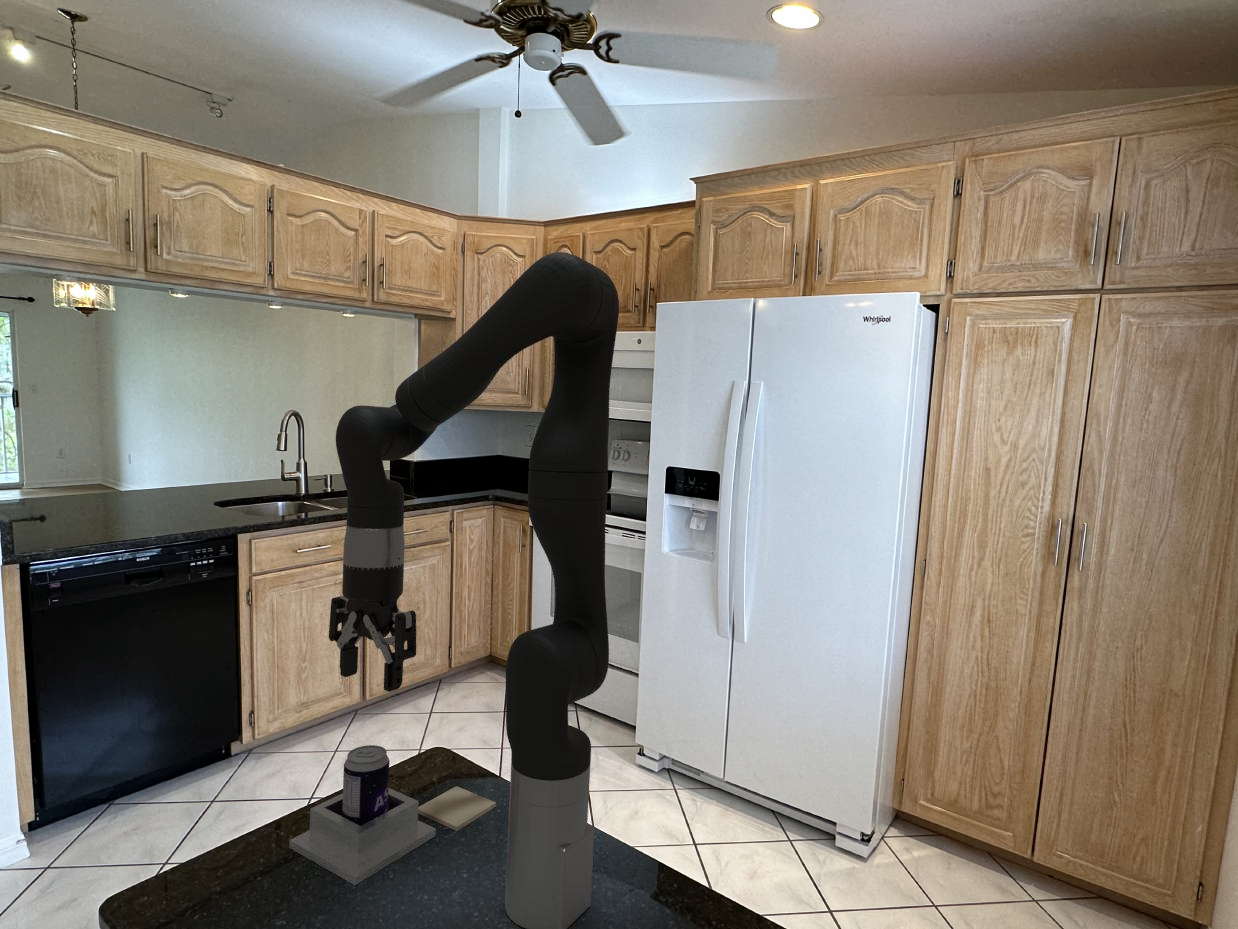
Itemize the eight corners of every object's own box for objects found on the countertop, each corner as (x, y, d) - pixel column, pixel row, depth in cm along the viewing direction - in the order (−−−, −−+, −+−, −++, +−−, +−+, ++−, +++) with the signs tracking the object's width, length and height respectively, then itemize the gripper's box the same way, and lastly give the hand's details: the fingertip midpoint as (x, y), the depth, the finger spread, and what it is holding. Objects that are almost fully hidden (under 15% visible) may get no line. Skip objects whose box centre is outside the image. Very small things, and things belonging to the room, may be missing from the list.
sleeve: (435, 836, 96) (436, 800, 96) (355, 885, 85) (356, 845, 85) (371, 805, 103) (372, 771, 103) (289, 847, 92) (290, 810, 92)
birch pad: (495, 806, 104) (496, 802, 104) (456, 831, 98) (457, 827, 98) (456, 790, 109) (456, 786, 109) (416, 812, 102) (416, 808, 102)
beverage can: (377, 855, 91) (380, 764, 91) (333, 853, 91) (336, 762, 91) (392, 831, 97) (395, 745, 96) (351, 828, 97) (354, 742, 96)
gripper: (434, 563, 92) (429, 687, 93) (361, 549, 99) (358, 663, 100) (388, 572, 85) (383, 704, 86) (314, 556, 93) (310, 678, 94)
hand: (369, 682), depth 93 cm, fingers open, 8 cm apart
